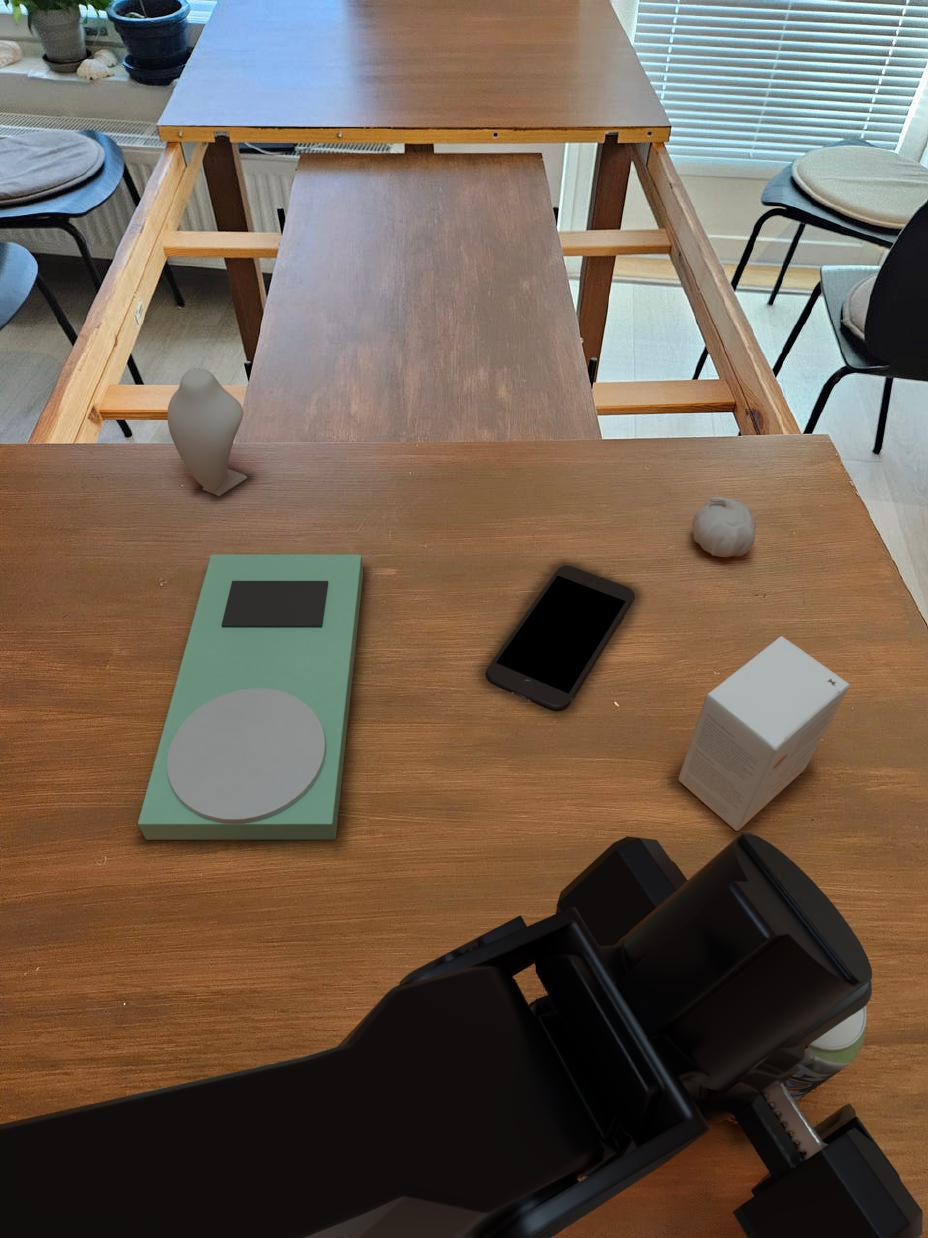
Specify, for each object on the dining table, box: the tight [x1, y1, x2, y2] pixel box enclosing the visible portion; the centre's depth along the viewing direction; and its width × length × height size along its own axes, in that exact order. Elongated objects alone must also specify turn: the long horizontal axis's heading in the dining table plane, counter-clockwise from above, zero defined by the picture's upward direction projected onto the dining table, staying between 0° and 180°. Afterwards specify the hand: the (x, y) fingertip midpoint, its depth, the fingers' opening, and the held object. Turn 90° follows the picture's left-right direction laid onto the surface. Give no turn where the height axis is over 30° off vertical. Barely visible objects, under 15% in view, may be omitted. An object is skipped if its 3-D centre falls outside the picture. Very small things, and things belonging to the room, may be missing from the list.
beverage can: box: [722, 1005, 868, 1127], centre depth 47 cm, size 6×7×12 cm
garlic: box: [691, 495, 757, 558], centre depth 79 cm, size 6×5×5 cm
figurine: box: [166, 367, 248, 497], centre depth 82 cm, size 8×5×12 cm
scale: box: [137, 553, 364, 841], centre depth 69 cm, size 26×13×3 cm, turn 0°
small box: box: [678, 635, 851, 832], centre depth 61 cm, size 8×6×10 cm
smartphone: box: [484, 564, 636, 712], centre depth 74 cm, size 7×15×1 cm, turn 150°
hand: (781, 1024), depth 46 cm, fingers open, 9 cm apart
